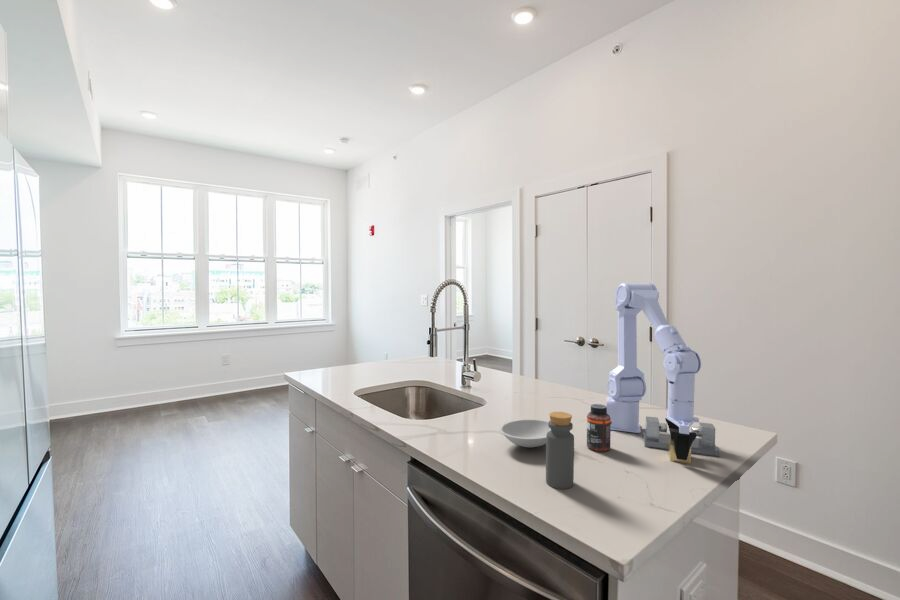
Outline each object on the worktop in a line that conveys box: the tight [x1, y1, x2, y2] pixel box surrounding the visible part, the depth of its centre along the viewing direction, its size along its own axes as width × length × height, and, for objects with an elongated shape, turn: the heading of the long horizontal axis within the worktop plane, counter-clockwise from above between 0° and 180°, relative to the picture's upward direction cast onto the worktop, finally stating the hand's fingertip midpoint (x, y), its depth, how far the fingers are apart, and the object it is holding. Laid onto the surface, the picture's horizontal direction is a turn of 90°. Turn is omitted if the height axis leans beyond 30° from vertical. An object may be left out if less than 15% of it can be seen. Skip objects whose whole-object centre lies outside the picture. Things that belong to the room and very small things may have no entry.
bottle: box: [545, 411, 575, 490], centre depth 91 cm, size 6×6×15 cm
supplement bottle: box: [586, 403, 611, 453], centre depth 111 cm, size 6×6×11 cm
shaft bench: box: [642, 416, 720, 457], centre depth 113 cm, size 17×8×6 cm, turn 68°
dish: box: [498, 418, 551, 449], centre depth 112 cm, size 18×14×5 cm
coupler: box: [667, 440, 692, 465], centre depth 104 cm, size 4×4×4 cm
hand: (679, 453), depth 104 cm, fingers open, 7 cm apart
